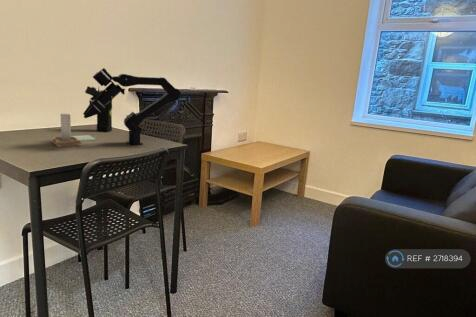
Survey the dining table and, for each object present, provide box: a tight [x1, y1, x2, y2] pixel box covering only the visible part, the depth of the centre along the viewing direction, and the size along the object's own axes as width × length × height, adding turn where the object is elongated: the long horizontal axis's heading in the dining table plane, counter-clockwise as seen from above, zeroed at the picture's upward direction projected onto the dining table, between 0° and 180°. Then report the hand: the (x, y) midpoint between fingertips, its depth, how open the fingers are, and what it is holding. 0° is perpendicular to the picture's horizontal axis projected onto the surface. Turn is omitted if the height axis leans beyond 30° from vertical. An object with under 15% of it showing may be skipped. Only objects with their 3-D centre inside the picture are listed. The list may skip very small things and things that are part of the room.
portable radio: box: [96, 86, 113, 133], centre depth 198 cm, size 8×6×25 cm
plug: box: [59, 113, 73, 141], centre depth 161 cm, size 6×6×14 cm
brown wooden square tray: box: [51, 135, 82, 148], centre depth 162 cm, size 10×10×2 cm
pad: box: [71, 134, 97, 142], centre depth 176 cm, size 10×10×1 cm
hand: (84, 116), depth 162 cm, fingers open, 9 cm apart
